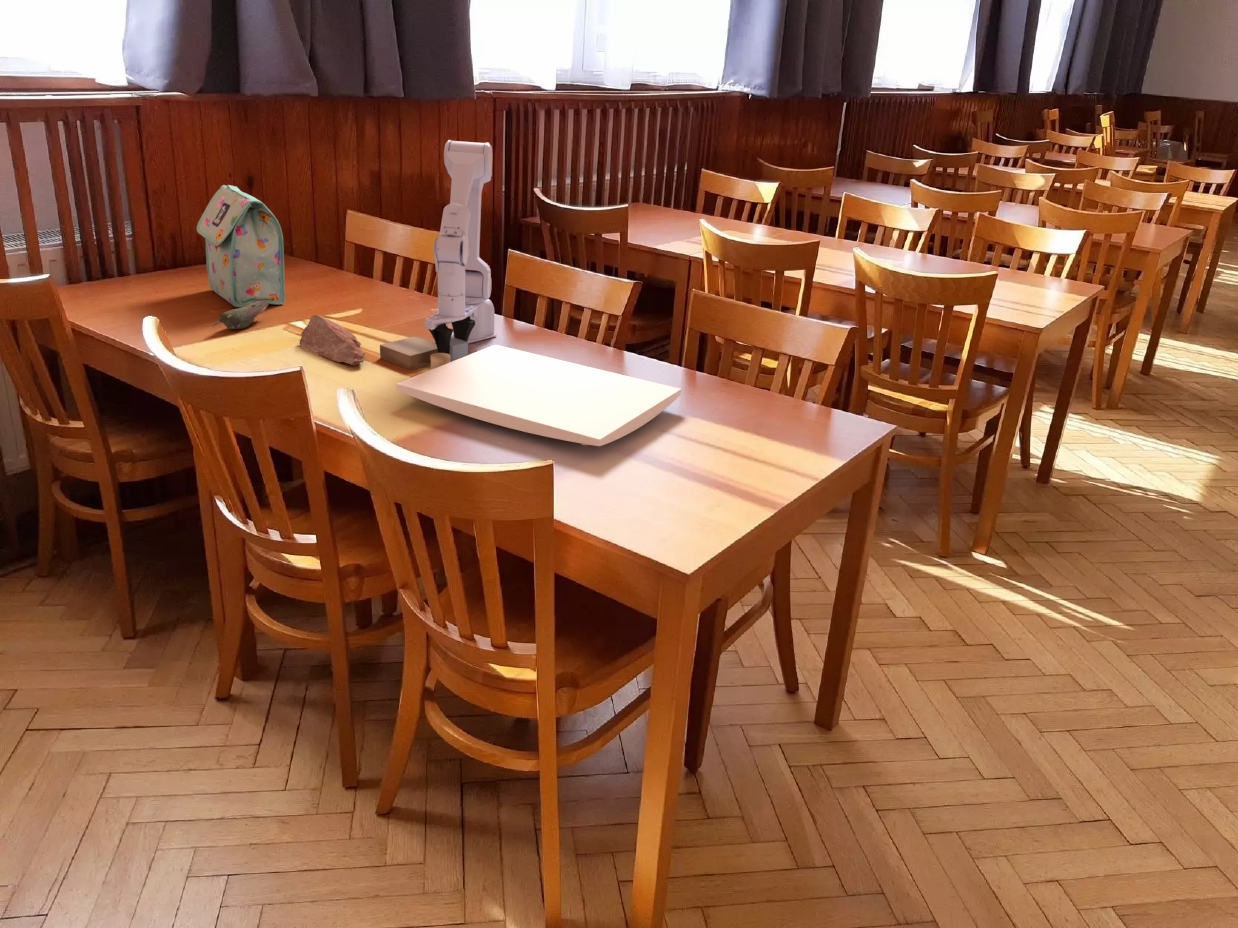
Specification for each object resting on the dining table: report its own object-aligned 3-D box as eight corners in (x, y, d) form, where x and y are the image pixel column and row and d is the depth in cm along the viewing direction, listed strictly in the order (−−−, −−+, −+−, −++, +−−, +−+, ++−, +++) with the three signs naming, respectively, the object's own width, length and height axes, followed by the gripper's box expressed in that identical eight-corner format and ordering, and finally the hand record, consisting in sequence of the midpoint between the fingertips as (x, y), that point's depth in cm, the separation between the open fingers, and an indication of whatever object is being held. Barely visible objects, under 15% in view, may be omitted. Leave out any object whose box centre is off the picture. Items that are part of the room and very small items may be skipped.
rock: (339, 367, 203) (368, 329, 205) (287, 339, 219) (315, 304, 221) (372, 393, 210) (399, 356, 212) (319, 365, 226) (346, 331, 228)
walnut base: (416, 349, 221) (415, 336, 219) (446, 359, 215) (445, 346, 214) (380, 358, 213) (379, 344, 212) (410, 369, 208) (409, 355, 206)
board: (679, 411, 196) (681, 389, 194) (598, 464, 170) (599, 439, 168) (495, 365, 215) (495, 344, 213) (396, 406, 189) (396, 383, 187)
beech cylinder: (441, 374, 206) (441, 351, 204) (454, 379, 204) (454, 356, 202) (426, 378, 203) (426, 355, 201) (439, 383, 201) (439, 360, 199)
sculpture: (202, 336, 220) (200, 314, 218) (261, 316, 236) (260, 296, 234) (219, 339, 218) (216, 317, 216) (277, 319, 235) (275, 299, 233)
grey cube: (454, 356, 216) (454, 337, 214) (468, 361, 214) (468, 342, 212) (439, 361, 213) (438, 341, 211) (453, 365, 211) (452, 346, 209)
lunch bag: (200, 290, 254) (188, 183, 243) (264, 284, 263) (255, 181, 252) (227, 312, 238) (215, 199, 227) (294, 305, 247) (285, 196, 236)
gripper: (460, 283, 215) (460, 343, 221) (413, 295, 204) (415, 358, 209) (484, 289, 212) (484, 350, 217) (438, 302, 200) (439, 365, 206)
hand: (452, 354), depth 213 cm, fingers closed on grey cube, 5 cm apart
